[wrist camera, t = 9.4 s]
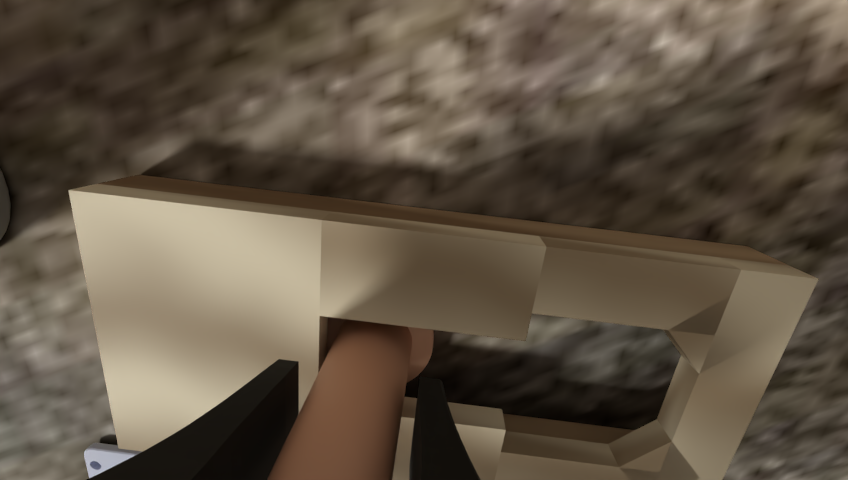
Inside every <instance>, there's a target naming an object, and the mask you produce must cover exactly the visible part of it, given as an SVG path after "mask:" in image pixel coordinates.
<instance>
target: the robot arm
mask: <svg viewBox="0 0 848 480" xmlns="http://www.w3.org/2000/svg"><path fill="white" fill-rule="evenodd" d="M298 414H299V361H291V360H283V359H278V360H277V361H276V362H274V363H273V364H272V365H270V366H269V367H268V368H266V369H265V370H264V371H262V372H261V373H260V374H258V375H257V376H256V377H255V378H253V379H252V380H251V381H249V382H248V383H247V384H245V385H244V386H243V387H241V388H240V389H239V390H237V391H236V392H235V393H233V394H232V395H231V396H229V397H228V398H227V399H225V400H224V401H222V402H221V403H220V404H218V405H217V406H215V407H214V408H212V409H211V410H210V411H208V412H207V413H205V414H204V415H202V416H201V417H199V418H198V419H196V420H195V421H193V422H192V423H190V424H189V425H187V426H186V427H184V428H182V429H181V430H179V431H178V432H176V433H174V434H173V435H171V436H169V437H168V438H166V439H164V440H162V441H161V442H159V443H157V444H155V445H154V446H152V447H150V448H148V449H147V450H145V451H143V452H142V451H134V450H127V449H119V448H118V445H112V444H104V443H93V444H91V445H90V446H89V447H88V448H87V449H86V450H85V452H84V457H85V461H86V466H87V470H88V474H89V479H87V480H267V478H268V476H269V474H270V472H271V470H272V468H273V466H274V464H275V462H276V460H277V458H278V456H279V454H280V452H281V450H282V448H283V445H284V443H285V441H286V439H287V437H288V435H289V433H290V431H291V429H292V427H293V425H294V423H295V421H296V419H297V417H298ZM409 480H481V479H480V477H479V476H478V474H477V472H476V470H475V468H474V466H473V464H472V462H471V460H470V458H469V456H468V454H467V451H466V449H465V447H464V445H463V442H462V440H461V438H460V435H459V433H458V430H457V428H456V425H455V423H454V420H453V417H452V415H451V412H450V409H449V406H448V402H447V399H446V395H445V391H444V386H443V382H442V381H441V380H440V379H434V378H426V377H420V379H419V387H418V395H417V403H416V411H415V419H414V427H413V436H412V445H411V455H410V464H409Z"/></svg>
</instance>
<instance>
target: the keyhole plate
mask: <svg viewBox="0 0 848 480" xmlns="http://www.w3.org/2000/svg"><path fill="white" fill-rule="evenodd" d="M68 191H69V196H70V201H71V207H72V212H73V217H74V222H75V227H76V232H77V237H78V243H79V248H80V253H81V258H82V263H83V268H84V273H85V279H86V284H87V289H88V294H89V299H90V304H91V309H92V315H93V320H94V325H95V330H96V335H97V340H98V345H99V351H100V356H101V361H102V366H103V371H104V376H105V381H106V387H107V392H108V397H109V402H110V407H111V412H112V417H113V423H114V428H115V433H116V438H117V443H118V448H119V449H127V450H134V451H142V452H143V451H145V450H147V449H148V448H150V447H152V446H154V445H155V444H157V443H159V442H161V441H162V440H164V439H166V438H168V437H169V436H171V435H173V434H174V433H176V432H178V431H179V430H181V429H182V428H184V427H186V426H187V425H189V424H190V423H192V422H193V421H195V420H196V419H198V418H199V417H201V416H202V415H204V414H205V413H207V412H208V411H210V410H211V409H212V408H214V407H215V406H217V405H218V404H220V403H221V402H222V401H224V400H225V399H227V398H228V397H229V396H231V395H232V394H233V393H235V392H236V391H237V390H239V389H240V388H241V387H243V386H244V385H245V384H247V383H248V382H249V381H251V380H252V379H253V378H255V377H256V376H257V375H258V374H260V373H261V372H262V371H264V370H265V369H266V368H268V367H269V366H270V365H272V364H273V363H274V362H276V361H277V360H278V359H283V360H291V361H299V412H300V410H301V408H302V406H303V404H304V402H305V400H306V398H307V396H308V394H309V392H310V390H311V388H312V386H313V383H314V381H315V379H316V377H317V375H318V373H319V371H320V369H321V367H322V365H323V363H324V361H325V359H326V357H327V337H328V317H333V318H341V319H349V320H358V321H366V322H374V323H382V324H390V325H398V326H406V327H414V328H422V329H431V330H439V331H447V332H455V333H463V334H471V335H479V336H487V337H496V338H504V339H512V340H520V341H526V337H527V333H528V328H529V324H530V319H531V315H532V314H540V315H549V316H557V317H565V318H573V319H582V320H590V321H598V322H606V323H614V324H623V325H631V326H639V327H647V328H655V329H663V330H664V332H665V333H666V334H667V336H668V337H669V339H670V340H671V341H672V343H673V344H674V346H675V347H676V349H677V350H678V351H679V353H680V354H681V357H680V359H679V362H678V365H677V367H676V370H675V373H674V375H673V378H672V380H671V383H670V386H669V388H668V391H667V394H666V396H665V399H664V402H663V404H662V407H661V409H660V412H659V415H658V417H657V419H656V420H654V421H652V422H650V423H648V424H646V425H644V426H642V427H641V428H639V429H637V430H629V429H621V428H613V427H605V426H597V425H589V424H582V423H574V422H566V421H558V420H550V419H542V418H534V417H526V416H518V415H510V414H503V412H502V409H498V408H490V407H482V406H475V405H467V404H459V403H451V402H448V406H449V409H450V412H451V415H452V417H453V420H454V423H455V425H456V428H457V430H458V433H459V435H460V438H461V440H462V442H463V445H464V447H465V449H466V451H467V454H468V456H469V458H470V460H471V462H472V464H473V466H474V468H475V470H476V472H477V474H478V476H479V477H480V479H481V480H723V478H724V475H725V473H726V471H727V469H728V467H729V465H730V463H731V461H732V459H733V457H734V455H735V453H736V450H737V448H738V446H739V444H740V442H741V440H742V438H743V436H744V434H745V432H746V430H747V427H748V425H749V423H750V421H751V419H752V417H753V415H754V413H755V411H756V409H757V407H758V405H759V402H760V400H761V398H762V396H763V394H764V392H765V390H766V388H767V386H768V384H769V382H770V380H771V377H772V375H773V373H774V371H775V369H776V367H777V365H778V363H779V361H780V359H781V357H782V355H783V352H784V350H785V348H786V346H787V344H788V342H789V340H790V338H791V336H792V334H793V332H794V330H795V327H796V325H797V323H798V321H799V319H800V317H801V315H802V313H803V311H804V309H805V307H806V305H807V302H808V300H809V298H810V296H811V294H812V292H813V290H814V288H815V286H816V284H817V282H818V278H815V277H813V276H811V275H809V274H807V273H805V272H802V271H800V270H798V269H796V268H794V267H791V266H789V265H787V264H785V263H783V262H781V261H778V260H776V259H774V258H772V257H770V256H768V255H765V254H763V253H761V252H759V251H757V250H754V249H752V248H750V247H748V246H741V245H733V244H724V243H716V242H707V241H699V240H690V239H682V238H673V237H665V236H656V235H648V234H639V233H631V232H622V231H614V230H605V229H597V228H588V227H580V226H571V225H563V224H554V223H546V222H537V221H529V220H520V219H512V218H503V217H494V216H486V215H477V214H469V213H460V212H452V211H443V210H435V209H426V208H418V207H409V206H401V205H392V204H384V203H375V202H367V201H358V200H350V199H341V198H333V197H324V196H316V195H307V194H299V193H290V192H282V191H273V190H265V189H256V188H248V187H239V186H231V185H222V184H214V183H205V182H197V181H188V180H180V179H171V178H163V177H154V176H146V175H135V176H131V177H126V178H121V179H117V180H112V181H108V182H103V183H98V184H94V185H89V186H84V187H80V188H75V189H71V190H68ZM416 403H417V398H411V397H404V403H403V410H402V416H401V423H400V430H399V437H398V444H397V450H396V457H395V464H394V471H393V478H392V480H409V464H410V455H411V445H412V436H413V427H414V419H415V411H416Z"/></svg>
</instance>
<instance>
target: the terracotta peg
mask: <svg viewBox="0 0 848 480" xmlns="http://www.w3.org/2000/svg"><path fill="white" fill-rule="evenodd" d="M433 339H434V330H431V329H422V328H414V327H406V326H398V325H390V324H382V323H374V322H366V321H358V320H349V319H341V318H333V317H328V337H327V357H326V359H325V361H324V363H323V365H322V367H321V369H320V371H319V373H318V375H317V377H316V379H315V381H314V383H313V386H312V388H311V390H310V392H309V394H308V396H307V398H306V400H305V402H304V404H303V406H302V408H301V410H300V412H299V414H298V417H297V419H296V421H295V423H294V425H293V427H292V429H291V431H290V433H289V435H288V437H287V439H286V441H285V443H284V445H283V448H282V450H281V452H280V454H279V456H278V458H277V460H276V462H275V464H274V466H273V468H272V470H271V472H270V474H269V476H268V478H267V480H392V478H393V471H394V464H395V457H396V450H397V444H398V437H399V430H400V423H401V416H402V410H403V403H404V396H405V389H406V383H407V382H409V381H411V380H412V379H414V378H415V377H416V376H418V375H419V374H420V373H421V372H422V371H423V369H424V368H425V367H426V365H427V364H428V362H429V360H430V357H431V355H432V350H433Z"/></svg>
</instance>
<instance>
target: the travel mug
mask: <svg viewBox="0 0 848 480" xmlns="http://www.w3.org/2000/svg"><path fill="white" fill-rule="evenodd" d="M10 208H11V204H10V197H9V191H8V187H7V184H6V182H5V179H4V176H3V173H2V171H1V169H0V240H1V239H2V237H3V235H4V234H5V232H6V230H7V227H8V224H9V220H10Z"/></svg>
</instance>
